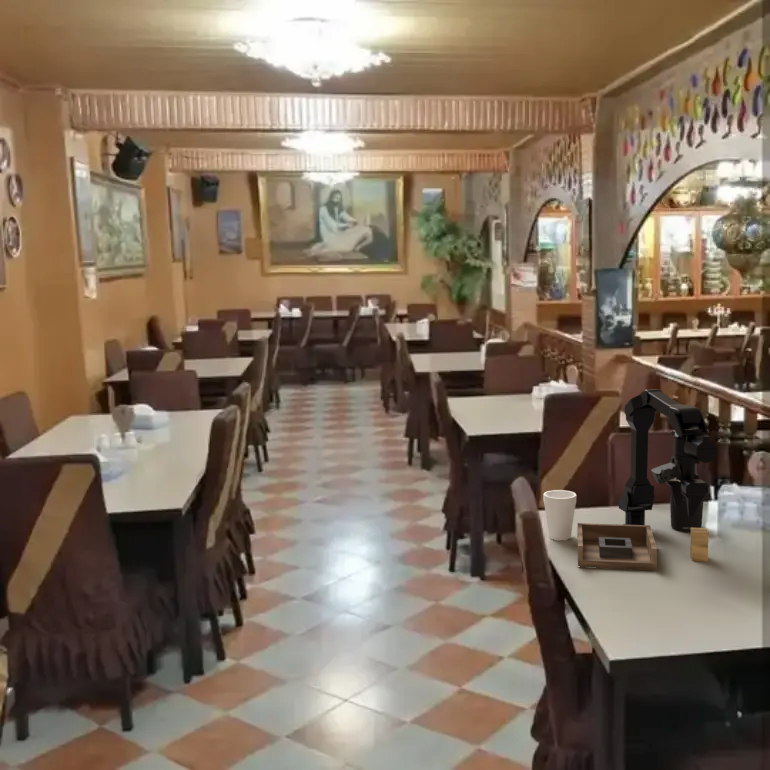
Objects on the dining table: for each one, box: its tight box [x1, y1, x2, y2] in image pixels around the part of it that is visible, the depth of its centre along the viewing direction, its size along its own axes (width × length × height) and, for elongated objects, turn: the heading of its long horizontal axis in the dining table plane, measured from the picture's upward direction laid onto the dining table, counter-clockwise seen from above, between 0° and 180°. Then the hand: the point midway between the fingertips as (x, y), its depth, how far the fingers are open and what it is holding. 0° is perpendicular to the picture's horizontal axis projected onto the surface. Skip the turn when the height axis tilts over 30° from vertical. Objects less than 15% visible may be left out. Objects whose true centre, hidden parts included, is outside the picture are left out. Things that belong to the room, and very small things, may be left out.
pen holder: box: [669, 493, 704, 533], centre depth 264 cm, size 9×9×10 cm
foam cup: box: [542, 489, 577, 541], centre depth 259 cm, size 10×9×13 cm
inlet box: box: [576, 522, 658, 572], centre depth 242 cm, size 20×20×6 cm
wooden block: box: [689, 527, 710, 563], centre depth 238 cm, size 4×4×8 cm
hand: (684, 511), depth 237 cm, fingers open, 9 cm apart
